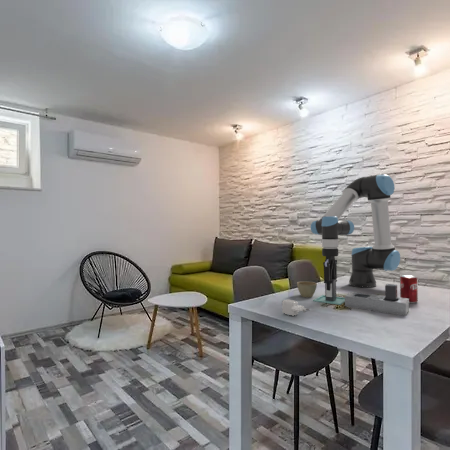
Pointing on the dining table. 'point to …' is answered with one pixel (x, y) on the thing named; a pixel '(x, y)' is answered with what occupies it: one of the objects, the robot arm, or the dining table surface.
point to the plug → (332, 291)
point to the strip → (379, 301)
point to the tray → (338, 301)
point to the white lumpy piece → (292, 307)
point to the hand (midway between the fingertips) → (330, 295)
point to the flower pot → (306, 288)
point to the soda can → (409, 288)
